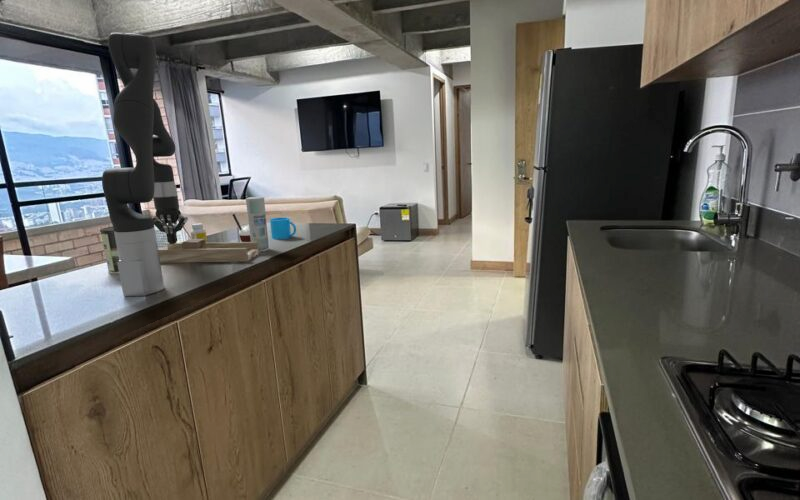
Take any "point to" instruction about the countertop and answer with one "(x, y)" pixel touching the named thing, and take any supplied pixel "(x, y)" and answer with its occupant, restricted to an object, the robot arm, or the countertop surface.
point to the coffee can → (110, 249)
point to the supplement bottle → (198, 232)
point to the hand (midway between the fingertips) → (173, 243)
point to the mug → (281, 228)
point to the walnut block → (194, 244)
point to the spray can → (257, 222)
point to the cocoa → (243, 232)
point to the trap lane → (210, 252)
